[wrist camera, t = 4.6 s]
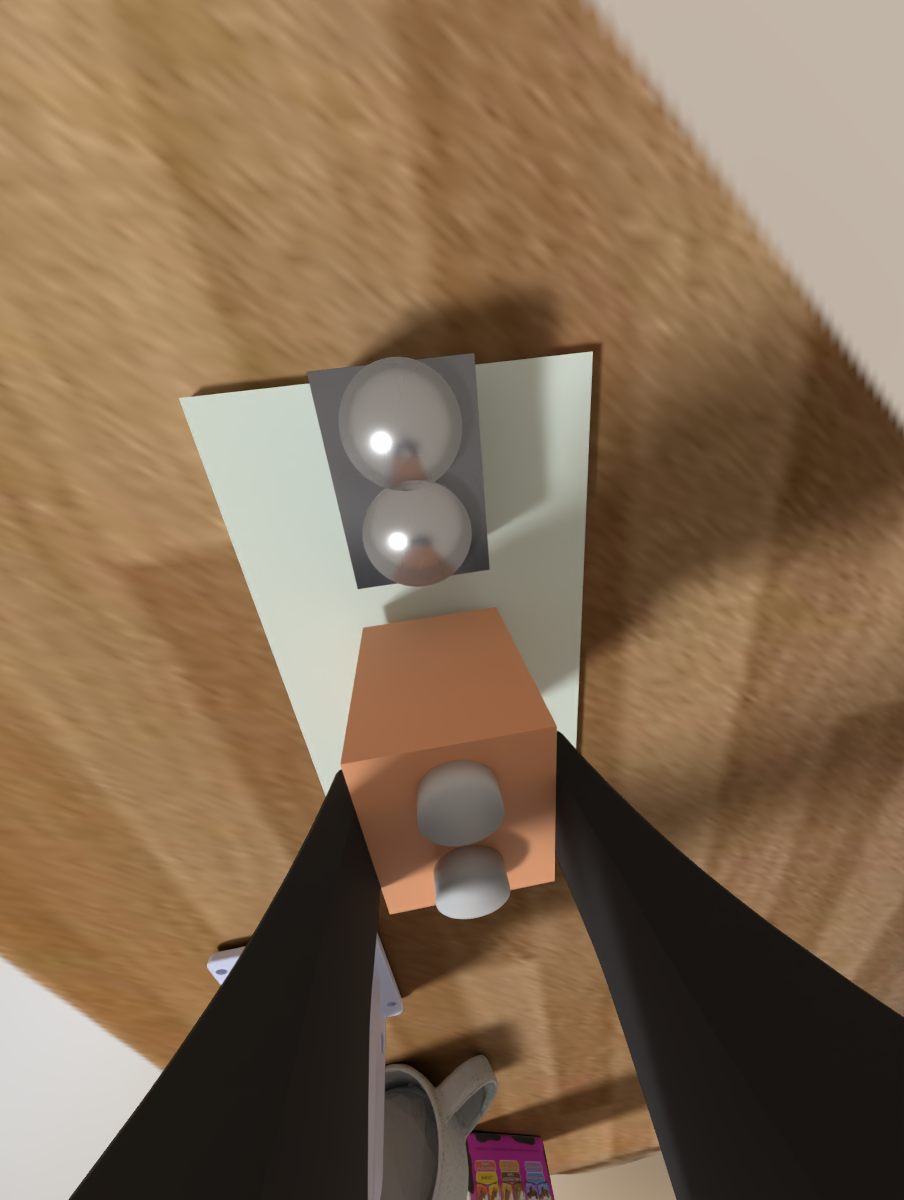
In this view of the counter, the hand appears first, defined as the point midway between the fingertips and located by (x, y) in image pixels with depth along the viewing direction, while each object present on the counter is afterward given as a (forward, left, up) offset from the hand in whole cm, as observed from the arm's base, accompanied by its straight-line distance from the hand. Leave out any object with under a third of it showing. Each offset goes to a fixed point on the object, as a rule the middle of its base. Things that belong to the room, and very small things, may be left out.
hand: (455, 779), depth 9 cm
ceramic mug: (-36, +6, -5) cm, 37 cm away
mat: (0, 0, -5) cm, 5 cm away
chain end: (+7, 0, -4) cm, 8 cm away
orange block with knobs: (0, 0, -4) cm, 4 cm away
